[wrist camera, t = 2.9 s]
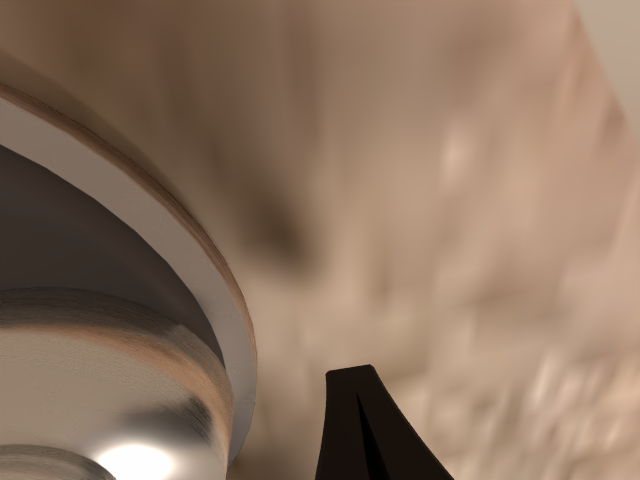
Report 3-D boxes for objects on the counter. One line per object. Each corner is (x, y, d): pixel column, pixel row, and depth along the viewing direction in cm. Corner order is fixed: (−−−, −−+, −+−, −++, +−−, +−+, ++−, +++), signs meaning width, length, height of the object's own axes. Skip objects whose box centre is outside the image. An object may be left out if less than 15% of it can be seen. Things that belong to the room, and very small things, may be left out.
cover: (257, 467, 13) (251, 593, 10) (9, 510, 13) (-79, 656, 9) (193, 262, 9) (148, 367, 6) (-178, 314, 8) (-443, 459, 5)
